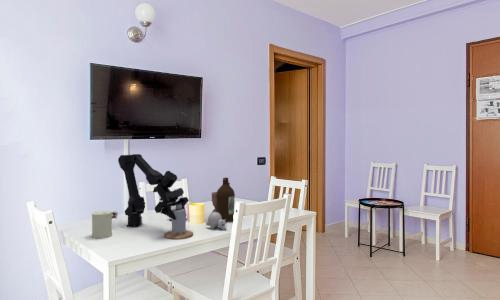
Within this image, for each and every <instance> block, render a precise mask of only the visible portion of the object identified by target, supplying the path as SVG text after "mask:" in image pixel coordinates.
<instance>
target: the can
mask: <svg viewBox="0 0 500 300" xmlns="http://www.w3.org/2000/svg"><path fill="white" fill-rule="evenodd" d="M112 212H113V211H111V210H98V211H93V212H92V213H91V231H92V233H91V237H92V238H93V239H105V238H110V237H112V236H113V231H112V230H113V226H112V225H113V217H112Z"/></svg>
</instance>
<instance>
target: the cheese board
mask: <svg viewBox="0 0 500 300" xmlns="http://www.w3.org/2000/svg"><path fill="white" fill-rule="evenodd" d="M163 235H164V236H163V237H164V238H165V239H169V240H184V239H190V238H191V237H193V236H194V232H193V231H191V230H188V229H186V231H185V232H182V233H174V232H172V230H169V231H167V232H164V234H163Z"/></svg>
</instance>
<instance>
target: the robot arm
mask: <svg viewBox="0 0 500 300" xmlns="http://www.w3.org/2000/svg"><path fill="white" fill-rule="evenodd" d="M117 160H118V165H119V167H120V169H121V170H122V171H123V173H124V177H125V181H126V187H127V191H128V196H129V198H128V201H127V207H126V209H125V210H124V214H125V216H127V225H126V227H130V228H131V227H133V228H134V227H135V228H138V227H140V226H141V225H143V217H142V214H144V212H145V208H146V202H145V198H144V196H141V195H140V193H139V188H138V184H137V179H136V176H135V175H136V174H135V170H134V169H135V167H136V166H137V167H138V168H139V169H140V171H142V172H143V174H144V175H145V179H146V181H147V183H148V184H149V185H150V186H154V187H153V191H152V192H153V193H157V195H158V196H159V197H160V199H159V201H158V203H157V204H156V205H155V207H154V211H155V213H156V214H159V213H160V214H163V215H164V216H166V217H168V218H169V217H170V218H169V219H171V218H172V219H174V220H176V217H175V215H174V213H173V212H172V210H171V207H172V206H176V205H177V204H181V205H182V209H185V210H186V205H187V203H189V198H188V197H187V196H183V195H184V193H185V192H184V190H183V188H181V187H180V188H177V189H175V190H170V188H172V187H173V186H174V184H175V183H176V182H177V180H178V175H177V174H175V173H173V172H171V170H166V171H165V173H164V174H163V173H161V172H160V171H159V170H156V169H154V168H153V167H152V166H151V165H150V164H149V163H148V162H147V161H146V159H145V158H144V157H143V156H142V154H141V153H132V154H121V155H120V156H119V157H118V159H117ZM155 185H156V186H155ZM182 196H183V197H182ZM179 197H180V198H179ZM172 219H171V220H172Z"/></svg>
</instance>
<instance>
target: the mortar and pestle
mask: <svg viewBox="0 0 500 300" xmlns="http://www.w3.org/2000/svg"><path fill="white" fill-rule="evenodd" d="M228 184H229V185H230V186H231V184H230V181H229V182H228ZM216 194H217V191H213V192H211V202H212V206H213V207H214V209H212V211H211V213H212V212H217V197H216Z"/></svg>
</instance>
